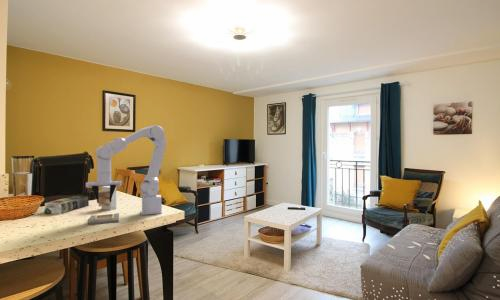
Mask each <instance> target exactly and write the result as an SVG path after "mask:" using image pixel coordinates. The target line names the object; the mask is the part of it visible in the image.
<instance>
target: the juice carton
mask: <svg viewBox="0 0 500 300" xmlns="http://www.w3.org/2000/svg"><path fill="white" fill-rule="evenodd" d="M89 199H90V197H89V196H88V195H76V194H75V195H72V196H68V197H65V198H59V199H55V200H52V201H48V202H45V203H44V214H45V213H46V214H50V215H64V214H67V213H69V212H73V211H76V210H80V209H83V208H86V207H89V202H90V201H89Z"/></svg>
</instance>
